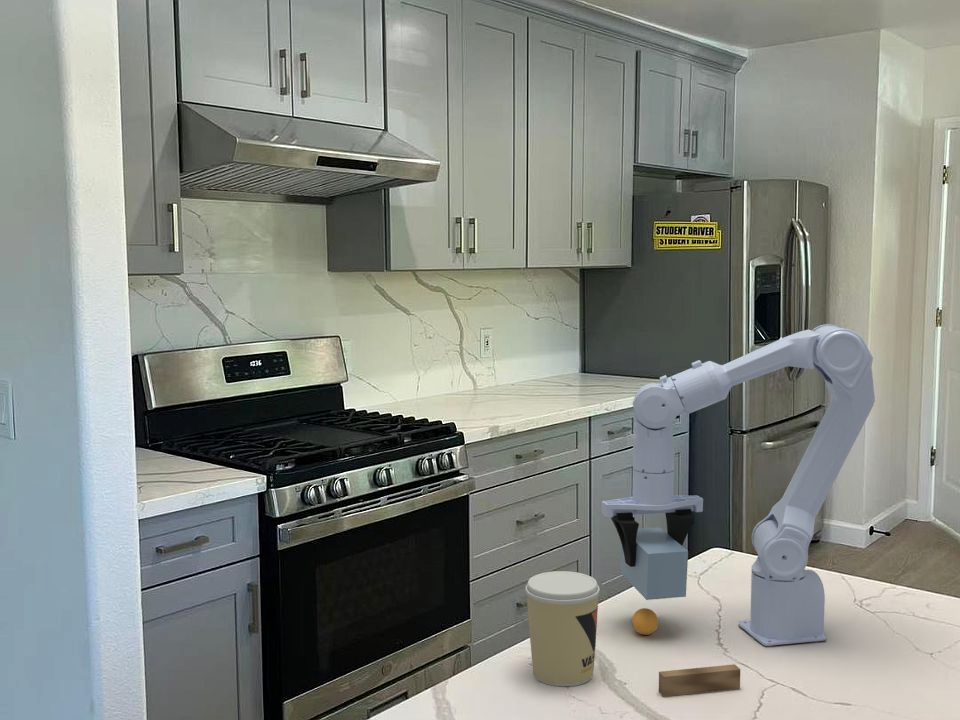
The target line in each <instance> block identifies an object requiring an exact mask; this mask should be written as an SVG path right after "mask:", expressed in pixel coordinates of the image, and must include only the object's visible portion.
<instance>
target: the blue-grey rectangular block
mask: <svg viewBox="0 0 960 720" xmlns="http://www.w3.org/2000/svg"><path fill="white" fill-rule="evenodd" d="M620 558H621V559H620V574H621V575H622V576H623V577H624V578H625V579H626V580H627V581H628V582H629V583H630V584H631V586H632V587H633V588H635V590H636V591H637V592H638V593H639V594H640V595H641V596H642V597H643V599H645V600H646V601H649V600H650V601H651V600H661V599H662V600H663V599H664V600H665V599H675V598H685V597H687V585H688V584H687V583H688V582H687V580H688V563H689V562H688V561H689V551H688V550H687V549H686V548H685V547H684V546H681V545H680V544H679V543H678V542H677V541H675V540H674V539H673V538H672V537H671V536H669V535H668V534H667V532H665V530H664V529H662V528H661V527H646V528H645V527H643V528H638V531H637V537H636V562H635V567H630V566H629V565H627V564H626V563H625V557H624V552H623V547H622V546H621V556H620Z"/></svg>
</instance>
